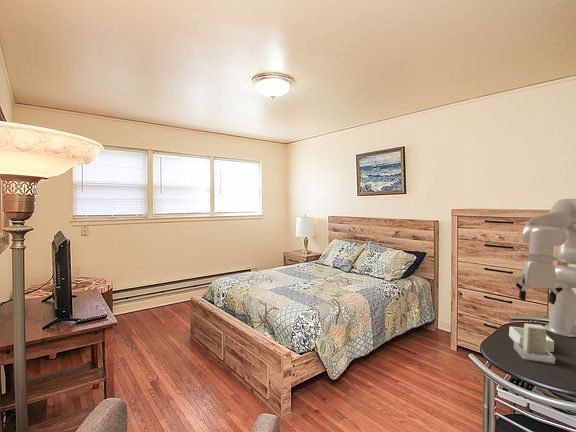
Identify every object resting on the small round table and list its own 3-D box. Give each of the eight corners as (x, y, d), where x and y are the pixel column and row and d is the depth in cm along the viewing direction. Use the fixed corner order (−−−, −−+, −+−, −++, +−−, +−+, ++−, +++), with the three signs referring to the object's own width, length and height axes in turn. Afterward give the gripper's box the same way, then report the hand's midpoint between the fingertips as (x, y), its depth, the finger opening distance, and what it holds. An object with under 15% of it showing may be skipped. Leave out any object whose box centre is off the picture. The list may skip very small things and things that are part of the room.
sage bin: (539, 340, 142) (540, 330, 142) (553, 352, 131) (554, 341, 131) (508, 335, 146) (509, 326, 146) (519, 347, 134) (520, 336, 134)
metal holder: (542, 351, 131) (542, 345, 131) (554, 364, 121) (555, 357, 121) (513, 347, 134) (513, 341, 134) (523, 359, 124) (523, 353, 124)
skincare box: (540, 354, 129) (542, 324, 128) (545, 359, 124) (547, 329, 124) (521, 351, 131) (523, 322, 130) (526, 356, 126) (528, 326, 126)
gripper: (561, 259, 126) (558, 301, 127) (511, 255, 131) (508, 296, 132) (572, 262, 119) (568, 307, 120) (518, 258, 124) (515, 301, 125)
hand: (536, 301), depth 126 cm, fingers open, 9 cm apart
